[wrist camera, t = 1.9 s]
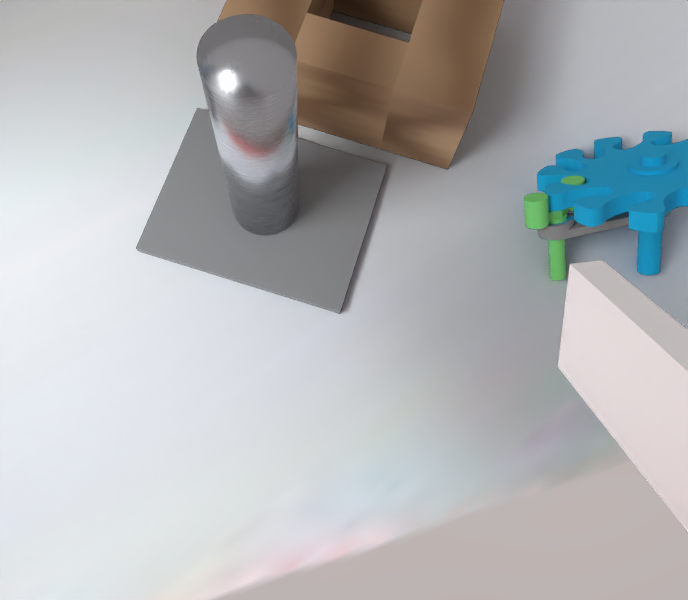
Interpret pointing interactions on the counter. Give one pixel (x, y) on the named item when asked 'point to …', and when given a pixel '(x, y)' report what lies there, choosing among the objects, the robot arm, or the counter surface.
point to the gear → (610, 195)
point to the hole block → (387, 69)
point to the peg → (254, 117)
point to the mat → (273, 250)
